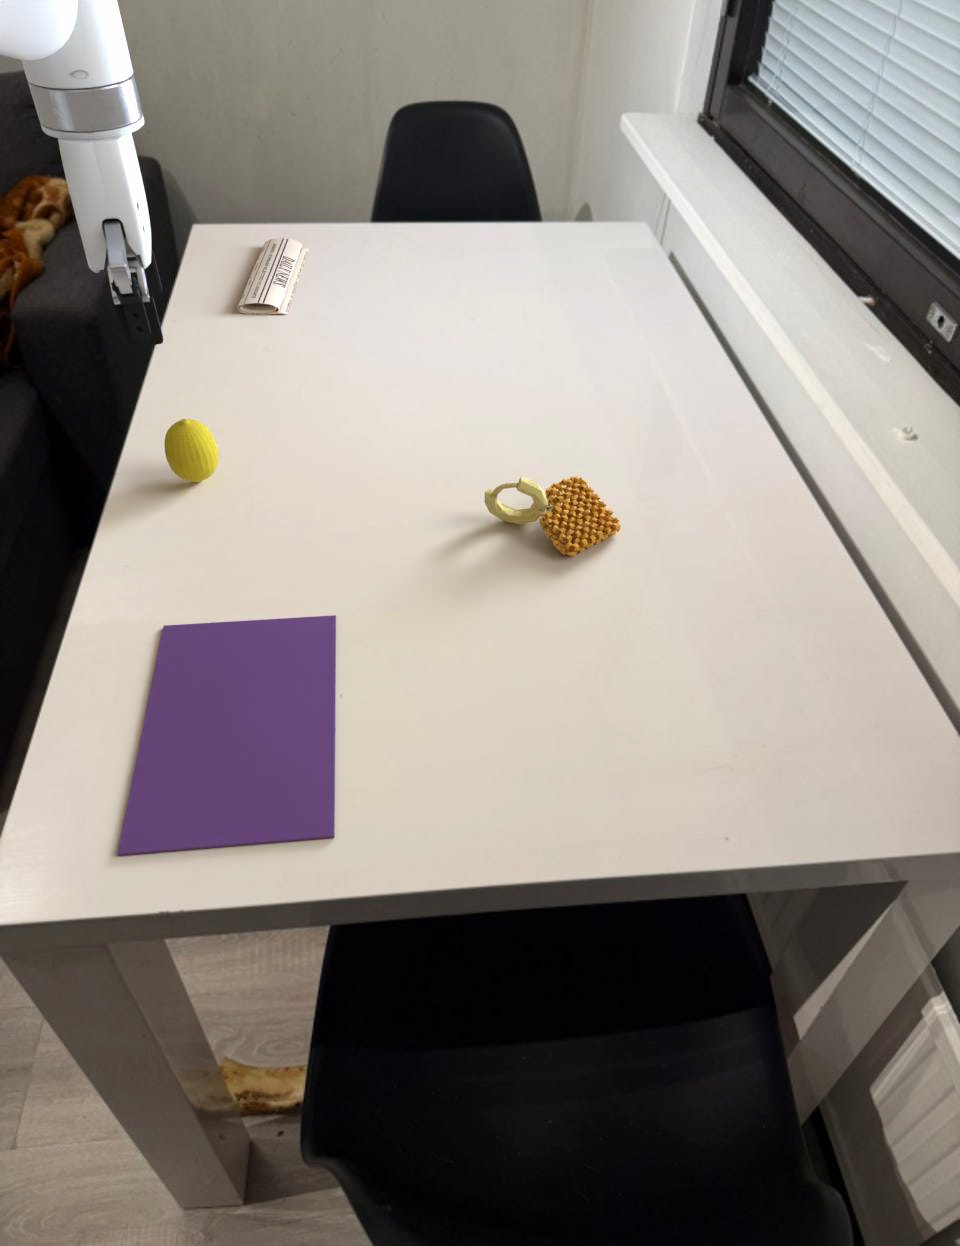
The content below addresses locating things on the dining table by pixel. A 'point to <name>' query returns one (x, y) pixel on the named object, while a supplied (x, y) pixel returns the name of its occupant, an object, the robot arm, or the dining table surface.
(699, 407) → the dining table surface
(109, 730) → the dining table surface
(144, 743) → the cloth
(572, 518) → the ornament
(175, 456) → the lemon
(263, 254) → the newspaper
